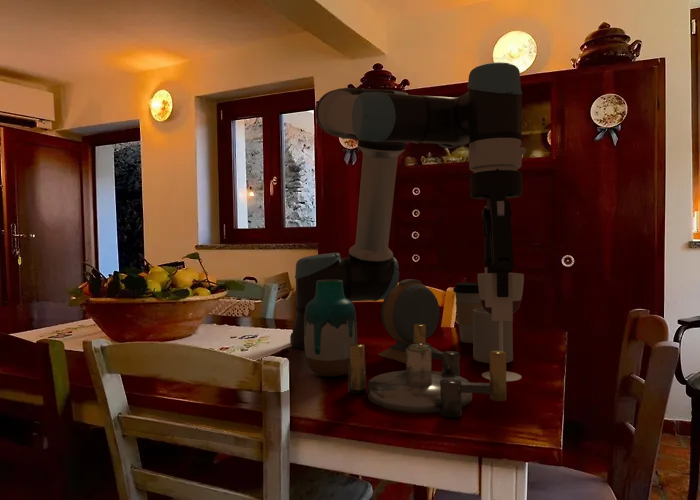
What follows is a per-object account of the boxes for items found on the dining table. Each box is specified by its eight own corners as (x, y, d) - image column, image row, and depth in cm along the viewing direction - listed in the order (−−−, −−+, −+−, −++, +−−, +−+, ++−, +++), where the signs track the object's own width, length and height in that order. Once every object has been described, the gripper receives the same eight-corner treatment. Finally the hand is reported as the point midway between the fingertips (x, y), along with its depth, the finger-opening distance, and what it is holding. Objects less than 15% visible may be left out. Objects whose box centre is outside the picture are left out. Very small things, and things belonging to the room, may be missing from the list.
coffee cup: (488, 337, 137) (488, 281, 136) (492, 345, 127) (491, 285, 127) (452, 337, 138) (452, 281, 138) (453, 344, 129) (453, 285, 129)
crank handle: (462, 378, 98) (462, 328, 97) (454, 382, 95) (453, 330, 95) (419, 370, 104) (418, 323, 104) (410, 374, 102) (409, 325, 101)
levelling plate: (346, 398, 88) (345, 345, 88) (406, 375, 102) (405, 329, 101) (436, 421, 76) (435, 360, 76) (490, 392, 90) (489, 340, 90)
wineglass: (481, 368, 106) (480, 272, 105) (526, 372, 102) (525, 272, 102) (475, 379, 98) (474, 275, 98) (523, 383, 95) (522, 276, 94)
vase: (368, 374, 103) (366, 279, 102) (330, 386, 95) (328, 284, 95) (332, 365, 110) (330, 277, 110) (294, 376, 103) (292, 281, 102)
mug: (514, 364, 108) (513, 313, 108) (472, 363, 111) (472, 312, 110) (511, 352, 120) (510, 305, 120) (473, 350, 122) (473, 304, 122)
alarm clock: (419, 347, 127) (418, 276, 127) (448, 354, 119) (447, 278, 119) (374, 355, 119) (372, 280, 118) (402, 364, 111) (400, 282, 110)
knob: (348, 388, 93) (347, 335, 92) (365, 388, 93) (364, 335, 92) (348, 406, 83) (347, 347, 83) (368, 406, 83) (367, 346, 83)
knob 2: (440, 417, 77) (439, 353, 77) (440, 409, 81) (440, 348, 80) (507, 420, 76) (507, 355, 75) (505, 412, 79) (504, 350, 78)
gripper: (535, 157, 63) (537, 328, 64) (511, 179, 88) (513, 302, 88) (473, 160, 65) (476, 327, 65) (467, 181, 89) (469, 302, 90)
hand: (497, 313), depth 77 cm, fingers open, 13 cm apart
